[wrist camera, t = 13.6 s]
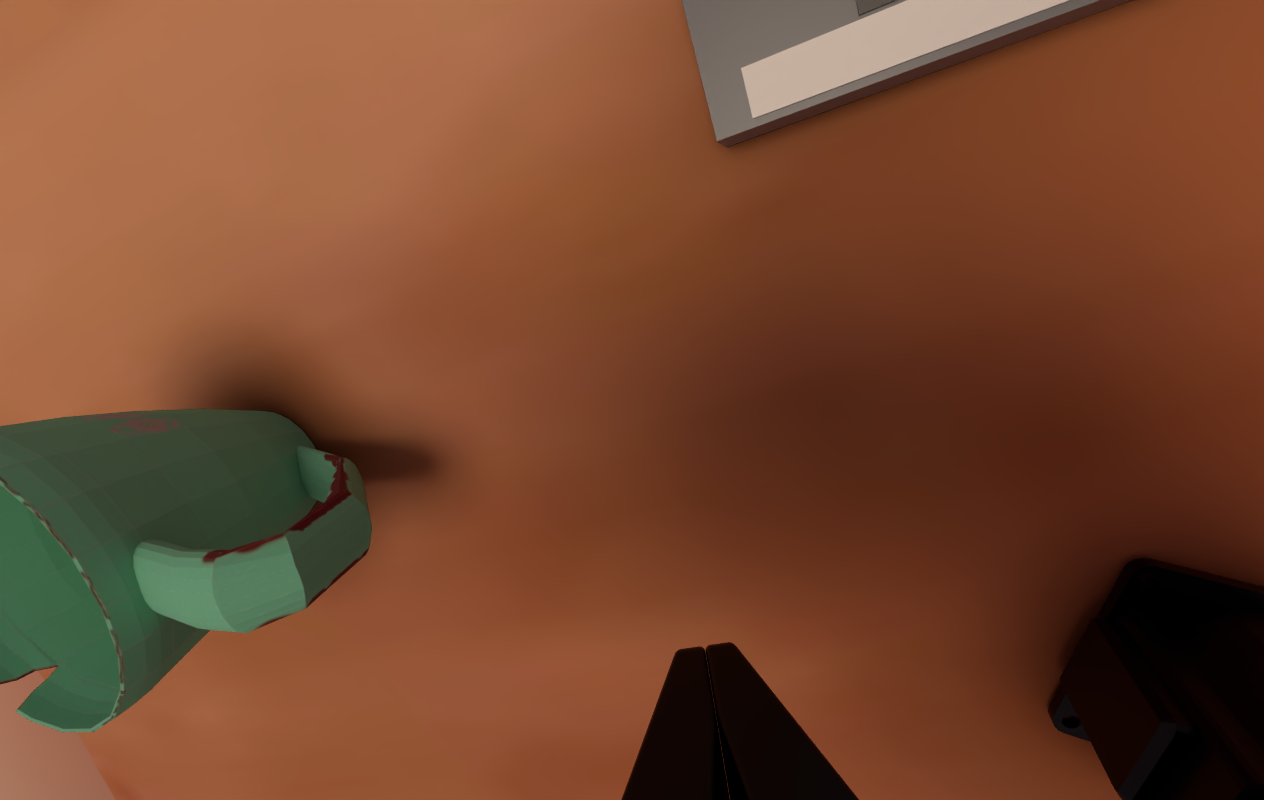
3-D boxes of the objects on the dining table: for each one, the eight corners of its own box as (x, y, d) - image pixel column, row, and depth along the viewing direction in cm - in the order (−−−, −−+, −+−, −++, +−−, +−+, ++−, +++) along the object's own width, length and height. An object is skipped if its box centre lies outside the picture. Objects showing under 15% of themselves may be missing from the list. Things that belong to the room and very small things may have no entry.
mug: (236, 555, 29) (-29, 716, 20) (162, 364, 26) (-182, 450, 17) (492, 563, 24) (299, 778, 15) (434, 332, 22) (157, 426, 13)
